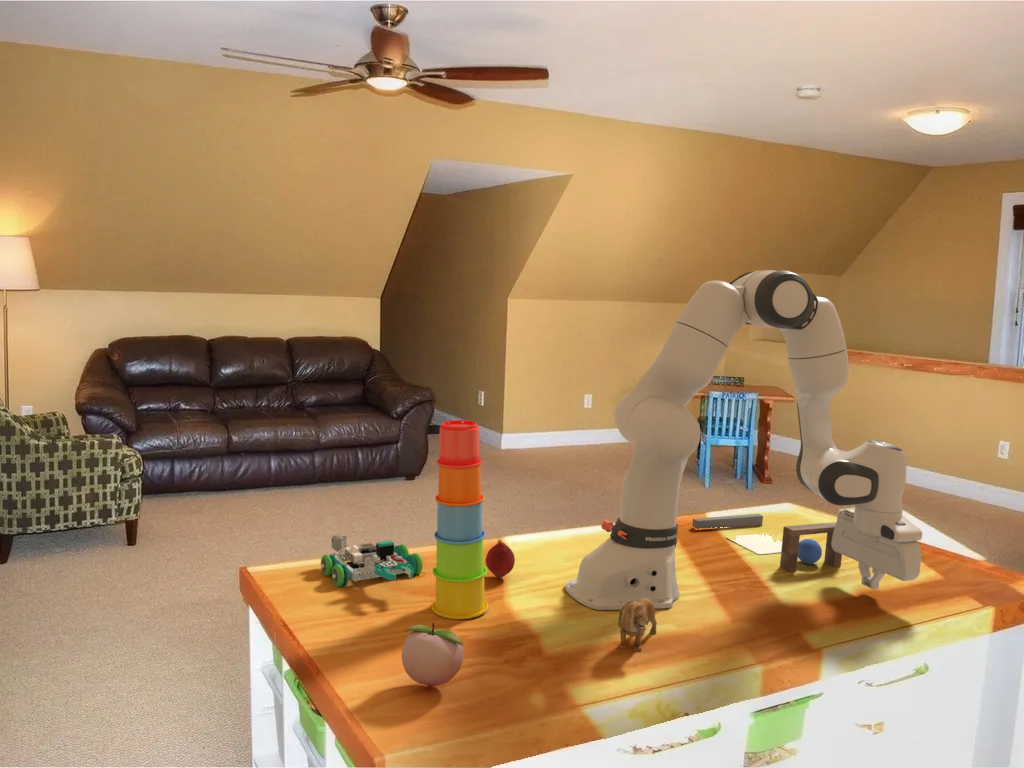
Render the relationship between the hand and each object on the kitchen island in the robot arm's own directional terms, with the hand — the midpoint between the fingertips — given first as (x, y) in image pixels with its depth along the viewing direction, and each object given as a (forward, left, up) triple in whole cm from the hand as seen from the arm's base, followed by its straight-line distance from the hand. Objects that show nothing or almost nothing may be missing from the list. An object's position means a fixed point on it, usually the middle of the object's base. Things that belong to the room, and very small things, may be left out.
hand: (869, 586), depth 176 cm
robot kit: (-93, +33, -2) cm, 99 cm away
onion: (-70, +28, -2) cm, 75 cm away
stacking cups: (-83, +15, -2) cm, 84 cm away
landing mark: (0, +33, -2) cm, 33 cm away
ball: (+1, +19, +1) cm, 19 cm away
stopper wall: (0, +47, -2) cm, 47 cm away
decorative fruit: (-97, -12, -2) cm, 98 cm away
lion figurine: (-59, -7, -2) cm, 59 cm away
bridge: (0, +17, -2) cm, 17 cm away
